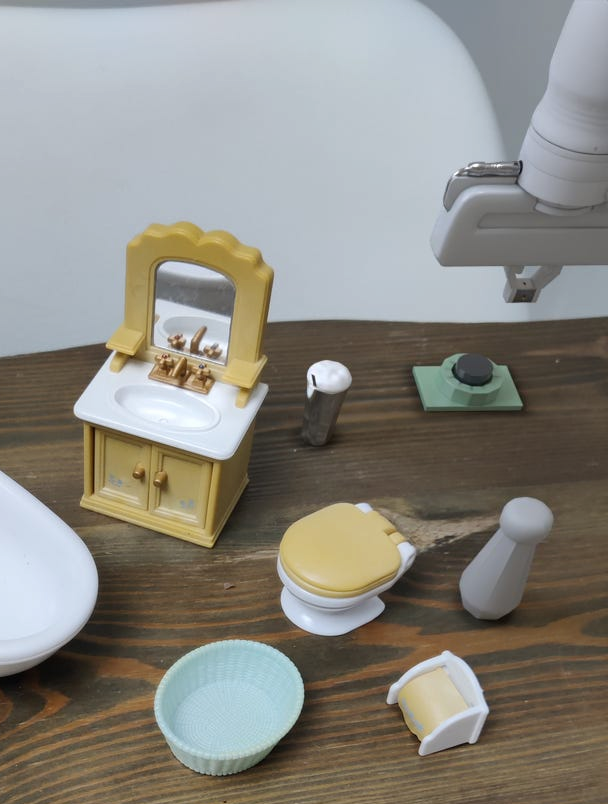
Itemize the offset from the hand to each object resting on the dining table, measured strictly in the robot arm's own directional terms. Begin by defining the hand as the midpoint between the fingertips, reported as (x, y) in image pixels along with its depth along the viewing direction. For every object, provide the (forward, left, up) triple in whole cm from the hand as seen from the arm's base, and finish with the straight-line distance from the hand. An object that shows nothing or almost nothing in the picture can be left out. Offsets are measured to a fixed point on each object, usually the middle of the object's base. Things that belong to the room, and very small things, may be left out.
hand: (518, 299), depth 97 cm
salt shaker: (-16, +21, -16) cm, 31 cm away
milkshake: (+10, +15, -16) cm, 24 cm away
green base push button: (+3, -4, -16) cm, 17 cm away
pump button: (+3, -4, -14) cm, 15 cm away
